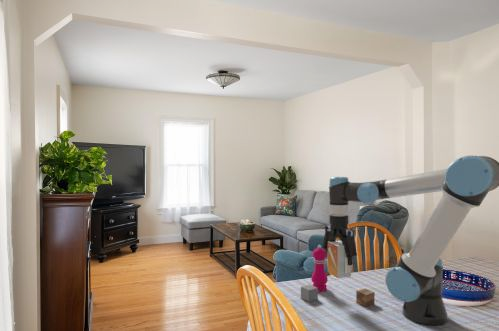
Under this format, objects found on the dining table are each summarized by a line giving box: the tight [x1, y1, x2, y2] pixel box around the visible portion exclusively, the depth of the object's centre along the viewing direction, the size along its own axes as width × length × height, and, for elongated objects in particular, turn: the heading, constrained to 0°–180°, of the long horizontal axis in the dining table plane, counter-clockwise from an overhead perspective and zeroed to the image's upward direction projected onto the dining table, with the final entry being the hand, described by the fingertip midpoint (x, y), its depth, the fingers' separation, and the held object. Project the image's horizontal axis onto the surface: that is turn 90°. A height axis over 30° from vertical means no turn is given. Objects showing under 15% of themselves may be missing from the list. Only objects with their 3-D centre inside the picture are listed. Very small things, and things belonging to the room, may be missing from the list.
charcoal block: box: [300, 284, 319, 303], centre depth 152 cm, size 5×5×5 cm
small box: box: [327, 240, 352, 279], centre depth 147 cm, size 8×6×13 cm
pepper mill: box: [311, 244, 329, 292], centre depth 164 cm, size 7×7×20 cm
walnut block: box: [355, 288, 375, 308], centre depth 147 cm, size 5×5×5 cm
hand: (339, 269), depth 147 cm, fingers closed on small box, 9 cm apart
